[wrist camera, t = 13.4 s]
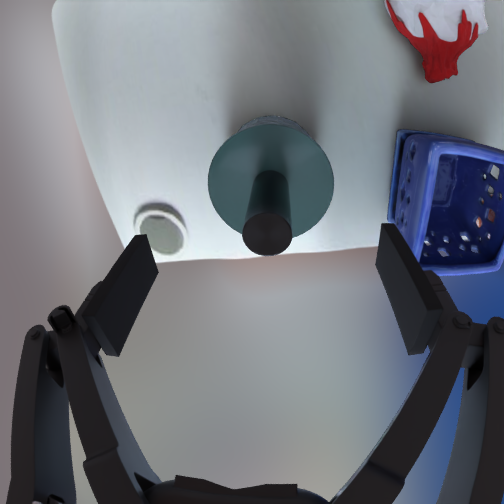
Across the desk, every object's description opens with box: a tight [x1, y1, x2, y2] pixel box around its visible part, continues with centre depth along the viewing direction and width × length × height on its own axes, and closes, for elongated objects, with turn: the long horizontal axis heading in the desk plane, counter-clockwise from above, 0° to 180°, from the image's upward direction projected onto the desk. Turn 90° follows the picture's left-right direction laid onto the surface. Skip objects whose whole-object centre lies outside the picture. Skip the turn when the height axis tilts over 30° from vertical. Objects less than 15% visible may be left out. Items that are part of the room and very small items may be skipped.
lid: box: [208, 124, 334, 256], centre depth 21 cm, size 11×11×9 cm
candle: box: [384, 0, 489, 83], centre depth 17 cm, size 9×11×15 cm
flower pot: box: [387, 129, 504, 276], centre depth 26 cm, size 13×13×12 cm
